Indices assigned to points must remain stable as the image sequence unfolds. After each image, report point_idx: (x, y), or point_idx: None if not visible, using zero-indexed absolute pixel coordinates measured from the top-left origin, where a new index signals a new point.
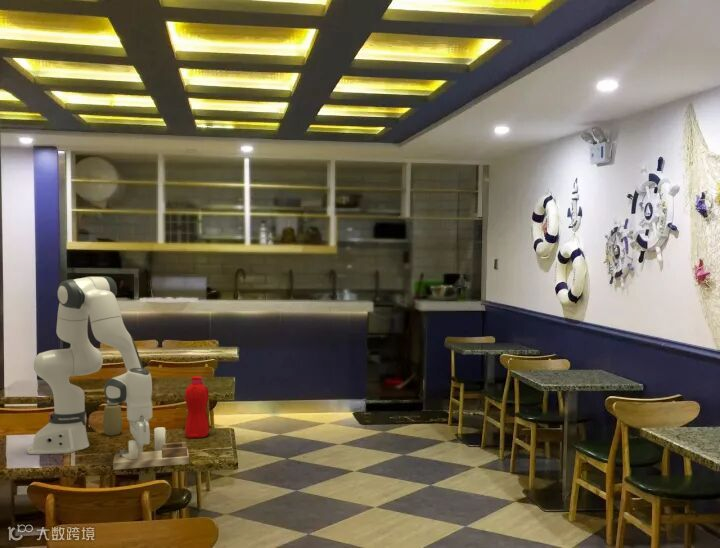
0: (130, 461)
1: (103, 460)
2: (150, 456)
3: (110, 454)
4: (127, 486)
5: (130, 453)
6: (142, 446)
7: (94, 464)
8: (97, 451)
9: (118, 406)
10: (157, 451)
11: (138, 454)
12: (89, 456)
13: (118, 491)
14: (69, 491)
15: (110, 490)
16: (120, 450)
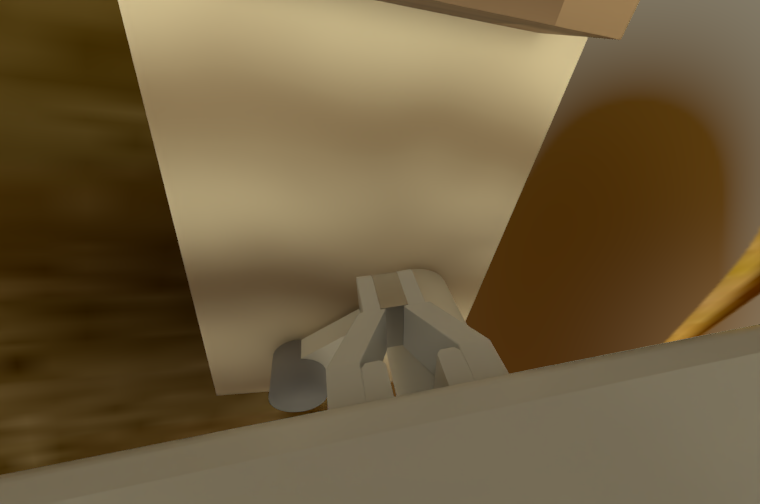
0: (468, 307)
1: (203, 397)
2: (399, 163)
3: (32, 389)
4: (728, 278)
5: None
6: (437, 311)
7: (281, 414)
8: None
9: None
10: (162, 41)
11: (272, 263)
12: (95, 452)
13: (745, 303)
14: None
15: (704, 326)
16: (297, 408)
